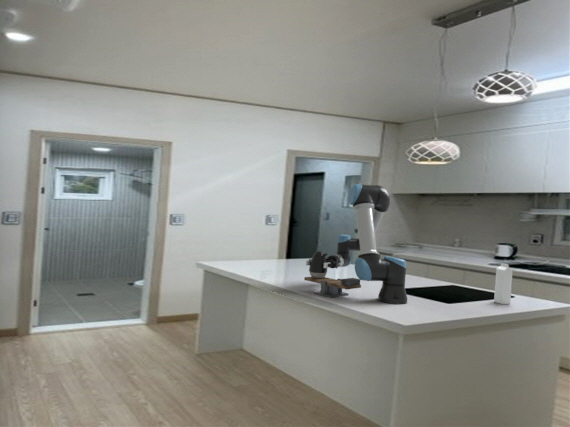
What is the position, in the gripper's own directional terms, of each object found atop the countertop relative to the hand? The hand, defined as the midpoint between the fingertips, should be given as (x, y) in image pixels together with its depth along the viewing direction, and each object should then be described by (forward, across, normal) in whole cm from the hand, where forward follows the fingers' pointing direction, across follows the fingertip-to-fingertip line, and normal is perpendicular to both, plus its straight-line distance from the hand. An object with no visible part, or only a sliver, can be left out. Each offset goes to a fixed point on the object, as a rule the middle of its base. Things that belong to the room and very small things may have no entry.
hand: (315, 264), depth 263 cm
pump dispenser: (-4, 0, -8) cm, 9 cm away
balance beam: (-2, -10, -10) cm, 14 cm away
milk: (-62, -85, -16) cm, 107 cm away
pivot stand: (-2, -10, -16) cm, 19 cm away
